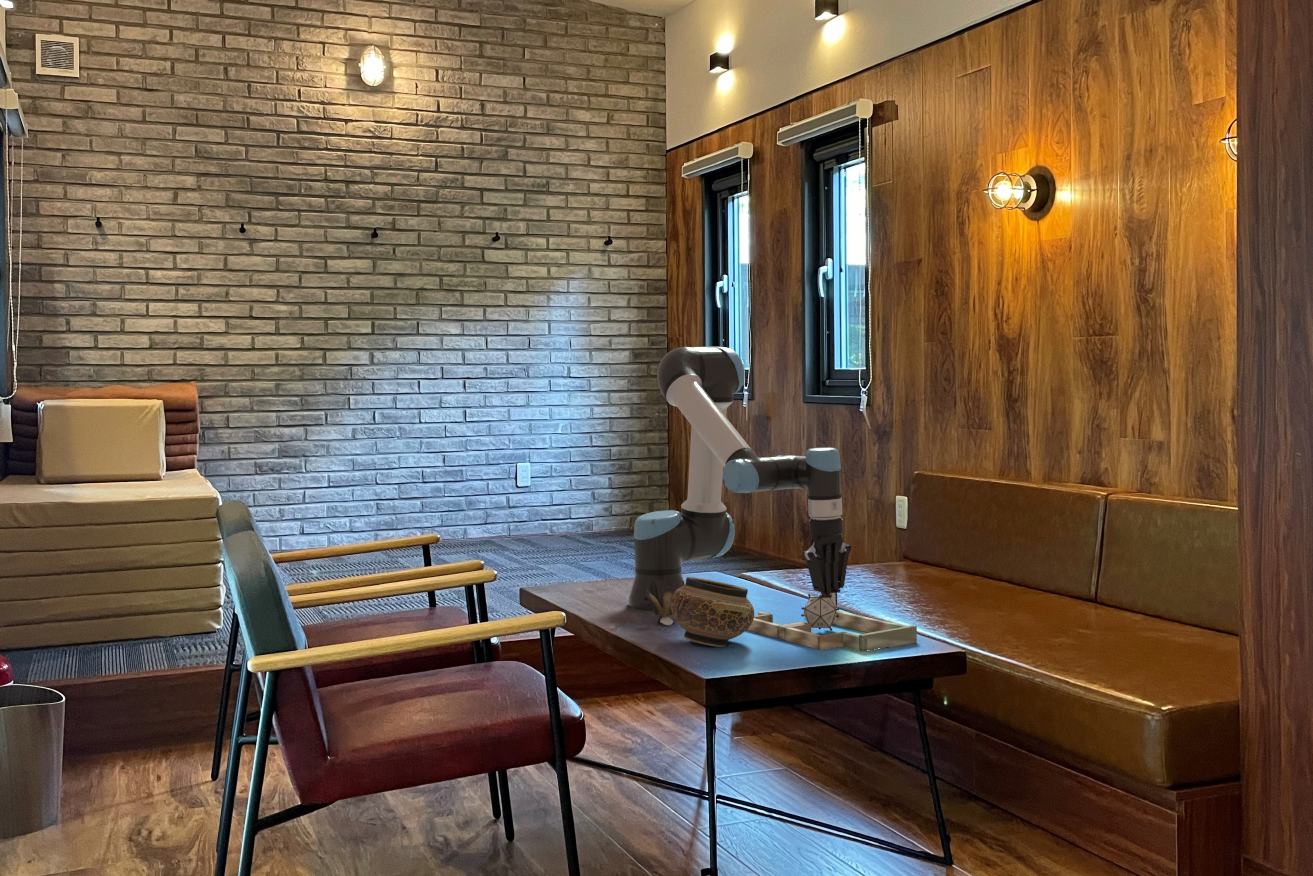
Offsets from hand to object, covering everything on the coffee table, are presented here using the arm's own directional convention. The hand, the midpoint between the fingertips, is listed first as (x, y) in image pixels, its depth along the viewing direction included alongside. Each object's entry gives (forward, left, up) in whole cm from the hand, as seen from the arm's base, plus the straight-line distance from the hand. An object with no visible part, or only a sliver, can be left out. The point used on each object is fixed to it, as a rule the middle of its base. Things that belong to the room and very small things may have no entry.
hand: (830, 621), depth 274 cm
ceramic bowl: (-3, -31, -2) cm, 31 cm away
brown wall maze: (+4, -2, -2) cm, 5 cm away
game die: (0, -3, -2) cm, 4 cm away
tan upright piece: (-26, -28, -2) cm, 38 cm away
